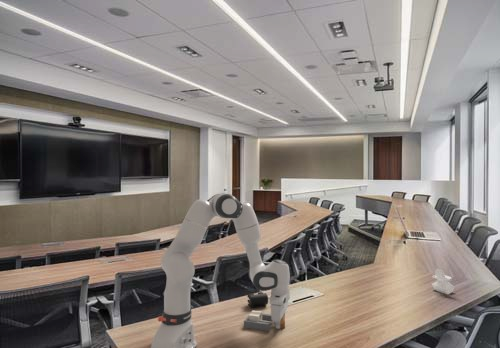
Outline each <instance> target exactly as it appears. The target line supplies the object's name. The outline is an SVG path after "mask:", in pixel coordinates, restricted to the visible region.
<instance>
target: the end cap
mask: <svg viewBox="0 0 500 348" xmlns="http://www.w3.org/2000/svg"><path fill="white" fill-rule="evenodd" d="M246 297H247V298H248V299H247V303H248V304H247V306H248V307H249V308H250V309H251V308H252V309H253V308H259V307H265V306H267V305H268V304H269V297H268V294H267V293H266V292H262V291H260V292H257V293H256V294H254V293H253V292H252V293H248V294H247V296H246Z"/></svg>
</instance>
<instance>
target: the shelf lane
mask: <svg viewBox="0 0 500 348" xmlns="http://www.w3.org/2000/svg"><path fill="white" fill-rule="evenodd" d="M262 320H264V321H271V322H272V319H271V313H270V314H269V313H263V312H262ZM243 327H244V328H245V329H246V328H247V329H253V330H260V331H266V332H271V324H270V323H265V322H257V321H250V320H249V314H248V315H247V317H246V318H245V319H244V321H243Z"/></svg>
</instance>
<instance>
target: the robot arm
mask: <svg viewBox="0 0 500 348" xmlns="http://www.w3.org/2000/svg"><path fill="white" fill-rule="evenodd" d="M215 217H217V218H220V219H221V218H222V219H231V220H232V222H233V224H234V228H235V231H236V234H237V237H238V239H239V241H240V243H241V244H242V246H243V247H244V248H245V252H246V255H247V260H248V264H249V266H248V278H249V279H250V280H251V282H252V284H253V286H254V287H255V289H256V290H258V291H261V292H262V291H268V290H270V297H269V305H270V314H271V319H272V322H275V323H276V325H275V329H279V330H281V329H280V327H281V324H280V320H281V319H282V317H283V315H284V316H285V317H286V311H287V309H289V300H290V298H291V297H290V296H291V295H290V294H291V293H290V291H291V289H290V288H291V287H290V279H291V277H290V266H289V264H288V263H287V262H286V261H284V260H282V259H273V260H272V261H271V262H270V263H268V264H265V263H264V262H263V260H262V256H261V253H260V248H259V241H260V239H261V228H260V224H259V221H258V216H257V215H256V213H255V210H254V208H253V206H252V204H250V203H249V202H240V201H239V199H237V197H236V196H234V195H232V194H229V193H225V192H223V193H222V192H221V193H217V194H214V195H212V196H211V197H210V198H209V199H207V200H206V199H203V198H202V199H196V200H194V202H193V203H192V205H190V207H189V209H188V211H187V213H186V215H185V217H184V219H183V221H182V223H181V224H180V227H179V229H178V232H177V233H176V235H175V236H174V239H173V240H172V241H171V243H170V245H169V246H168V247H167V249H166V251H165V252H164V253H163V254H162V256H161V259H160V264H161V268H162V271H164V272H165V275H166V283H165V288H164V293H163V308H164V309H163V311H162V314H161V315H160V316H158V318H157V321H158V322H160V325H159V326H158V328H157V330H156V331H155V333H154V335H153V336H152V337H153V338H152V339H151V346H150V347H149V348H197V347H198V341H196V336H195V326H194V324H193V321H192V315H193V314H192V308H191V288H192V283H193V278H194V275H195V273H196V271H195V270H196V267H195V264H194V262H193V260H192V259H191V256H192V254H193V253H194V252H195V250H196V249H197V248H198V247H200V245H201V244H202V241H203V240H204V238H205V237H204V236H205V234H206V232H207V230H208V227H209V225H210V224H211V221H212V220H213V219H214V218H215Z"/></svg>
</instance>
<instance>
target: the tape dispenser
mask: <svg viewBox="0 0 500 348" xmlns="http://www.w3.org/2000/svg"><path fill="white" fill-rule="evenodd" d="M434 274H435V275H432V276H431V277H432V278H433V279H436V281H434V282H432V283H431V285H432V287H433V290H434V291H437V292H439V293H442V294H444V295H450V294H452V293H453V291H454V290H455V288H456V287H455V286H454V285H453V284H452V283H450V282H452V281H453V280H452V277H451V276H449V275H446V274H445V272H444V270H443V269H439V268H436V269H435V272H434Z"/></svg>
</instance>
